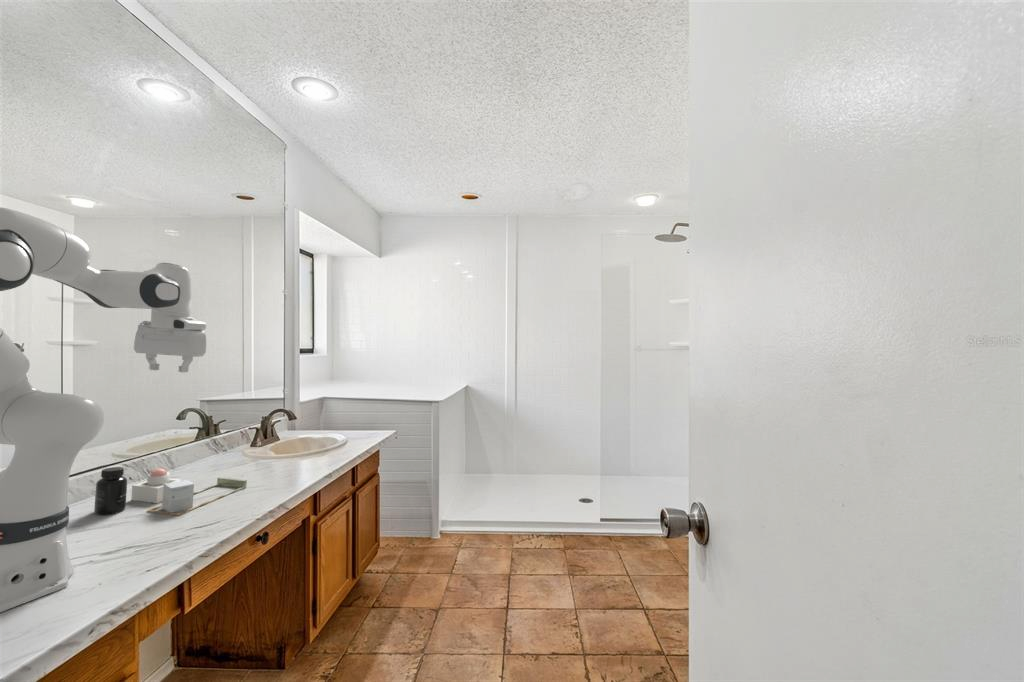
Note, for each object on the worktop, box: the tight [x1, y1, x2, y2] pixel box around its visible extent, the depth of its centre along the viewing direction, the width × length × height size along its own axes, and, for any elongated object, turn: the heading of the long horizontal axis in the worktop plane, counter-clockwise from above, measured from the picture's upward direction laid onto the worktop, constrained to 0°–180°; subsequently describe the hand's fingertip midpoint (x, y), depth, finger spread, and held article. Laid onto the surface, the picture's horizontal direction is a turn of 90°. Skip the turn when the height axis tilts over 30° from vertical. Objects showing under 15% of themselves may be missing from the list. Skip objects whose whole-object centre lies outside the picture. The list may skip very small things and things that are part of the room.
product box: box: [161, 479, 195, 513], centre depth 136 cm, size 6×6×7 cm
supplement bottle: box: [93, 466, 128, 515], centre depth 132 cm, size 7×7×12 cm
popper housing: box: [130, 477, 184, 504], centre depth 144 cm, size 9×9×4 cm
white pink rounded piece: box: [146, 468, 171, 487], centre depth 144 cm, size 6×6×6 cm
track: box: [146, 476, 248, 517], centre depth 145 cm, size 27×10×2 cm, turn 172°
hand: (168, 371), depth 129 cm, fingers open, 8 cm apart
